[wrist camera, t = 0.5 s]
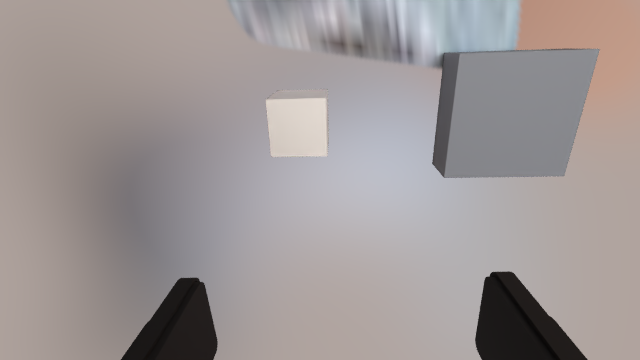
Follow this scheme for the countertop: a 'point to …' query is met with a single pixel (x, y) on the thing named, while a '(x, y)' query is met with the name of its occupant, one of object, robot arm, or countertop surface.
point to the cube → (298, 123)
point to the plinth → (510, 111)
